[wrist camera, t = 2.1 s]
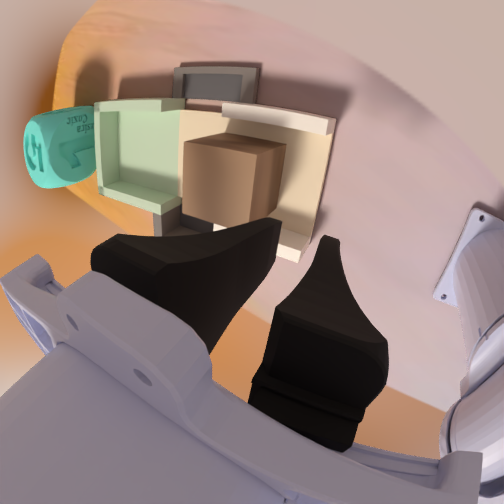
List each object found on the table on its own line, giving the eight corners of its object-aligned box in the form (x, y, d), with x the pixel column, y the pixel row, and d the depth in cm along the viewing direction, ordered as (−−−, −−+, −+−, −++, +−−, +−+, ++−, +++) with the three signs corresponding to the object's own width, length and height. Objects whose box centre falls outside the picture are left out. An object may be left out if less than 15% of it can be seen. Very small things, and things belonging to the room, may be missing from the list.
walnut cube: (286, 144, 18) (257, 154, 15) (276, 207, 21) (247, 234, 17) (224, 132, 20) (183, 141, 16) (220, 191, 23) (182, 213, 19)
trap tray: (342, 80, 15) (335, 74, 13) (301, 273, 24) (290, 293, 21) (118, 74, 22) (95, 76, 20) (121, 208, 30) (102, 217, 28)
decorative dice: (108, 171, 29) (51, 194, 23) (75, 162, 31) (27, 181, 25) (107, 105, 24) (45, 118, 18) (74, 105, 27) (21, 119, 20)
